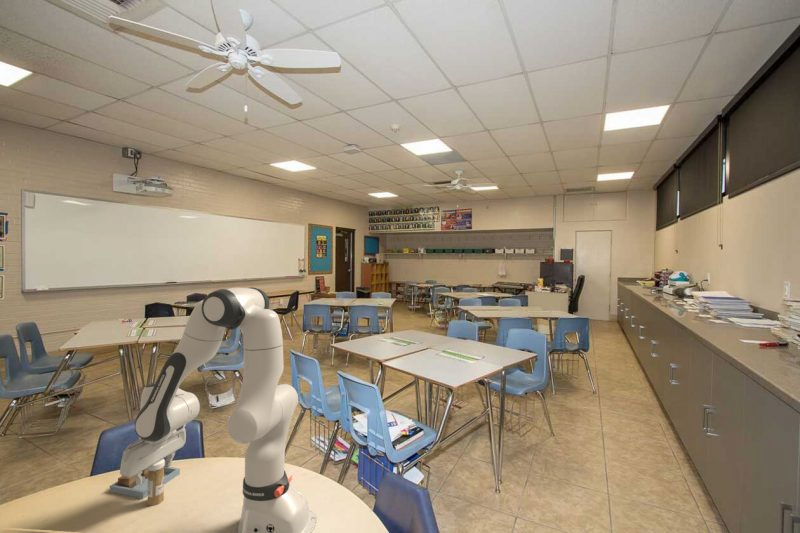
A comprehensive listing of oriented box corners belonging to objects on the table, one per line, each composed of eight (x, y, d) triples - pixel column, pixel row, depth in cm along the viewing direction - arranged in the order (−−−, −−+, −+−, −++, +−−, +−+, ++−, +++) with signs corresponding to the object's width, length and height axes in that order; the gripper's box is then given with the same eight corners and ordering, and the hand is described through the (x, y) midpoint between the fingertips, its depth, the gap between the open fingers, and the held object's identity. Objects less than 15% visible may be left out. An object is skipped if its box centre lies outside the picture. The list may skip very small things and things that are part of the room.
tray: (179, 475, 126) (179, 468, 126) (143, 500, 113) (143, 492, 113) (148, 469, 130) (149, 463, 130) (109, 493, 116) (109, 485, 116)
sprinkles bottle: (163, 504, 111) (164, 462, 111) (146, 509, 108) (147, 466, 109) (164, 496, 115) (164, 455, 115) (147, 501, 112) (147, 460, 112)
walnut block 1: (138, 483, 121) (138, 471, 121) (129, 490, 117) (129, 478, 117) (127, 482, 121) (127, 471, 121) (117, 490, 117) (117, 478, 117)
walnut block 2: (156, 473, 126) (156, 462, 126) (144, 479, 123) (144, 468, 123) (150, 470, 128) (150, 459, 128) (138, 476, 125) (138, 465, 125)
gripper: (132, 449, 101) (130, 496, 101) (189, 419, 121) (188, 459, 121) (115, 446, 102) (113, 492, 102) (175, 417, 122) (173, 456, 122)
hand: (154, 474), depth 112 cm, fingers open, 8 cm apart
